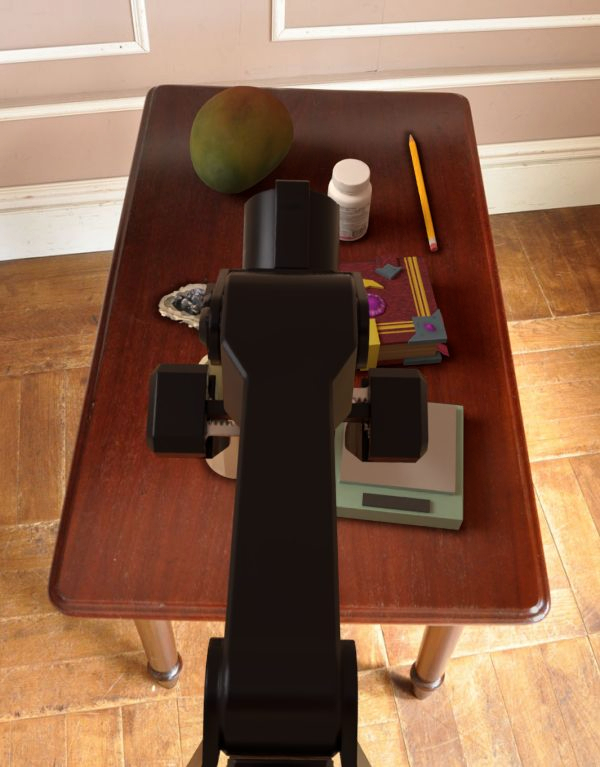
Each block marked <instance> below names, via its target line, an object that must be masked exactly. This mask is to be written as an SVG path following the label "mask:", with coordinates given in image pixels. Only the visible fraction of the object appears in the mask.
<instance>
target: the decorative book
mask: <svg viewBox="0 0 600 767" xmlns="http://www.w3.org/2000/svg"><path fill="white" fill-rule="evenodd" d="M339 271H348V272H361V275H362V279H363V282H364V286H365V289H366V293H367V296H368V300H369V311H370V335H369V353H368V362H367V367H366V369H359V371H360V372H365V371H366V372H367V371H368V370H369V368H377V367H378V366H389V365H400V364H401V365H402V364H403V366H416V365H429V364H441V363H442V359H443V357H442V354H443V355H444V356H448V357H450V354H449V351H448V347H447V345H445V344H446V343H447V341H448V336H447V332H446V328H445V325H444V324H445V323H444V322H445V321H444V318H443V314H442V312H441V310H440V308H439V309H438V306H437V302H436V298H435V295H434V294H435V293H434V290H433V286H432V283H431V278H430V274H429V271H428V268H427V263H426V259H425V256H424V255H420V256H419V255H418V256H406V257H404V256H403V257H397V255H396V253H393V254H392V253H391V254H380V255H375V259H365V260H364V259H363V260H351V261H339Z"/></svg>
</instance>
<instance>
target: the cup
mask: <svg viewBox="0 0 600 767" xmlns="http://www.w3.org/2000/svg"><path fill="white" fill-rule="evenodd" d="M198 364H209V366H210V375H216V379H217V386H218V393H219V400H224V399H223V381H222V366H212V365H211V363H210V360H208V354H206V355H204V356H203V357H202V358H201V360H200V361H199V363H198ZM230 421H232V424H233V425H234V424H235V422H234V421H233V420H229V422H230ZM238 448H239V437H231V442H230V445H229V447H228V448H226V449H225V450H223V451H222V452H221V453H219V454H218V455H217V456H215V457H214V458H213V459H205V461H206V463H207V465H208V467H209V468H210V469H211V470H212V471H214V472H215V473H216V474H218V475H220V476H222V477H225V478H228V479H232V480H236V474H237V461H238Z"/></svg>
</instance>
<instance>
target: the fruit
mask: <svg viewBox="0 0 600 767" xmlns="http://www.w3.org/2000/svg"><path fill="white" fill-rule="evenodd" d="M294 131H295V130H294V123H293V119H292V115H291V114H290V111H289V109H288V108H287V106H286V105H285V104H284V102H282V101H281V100H280V98H278V97H277V95H274V94H272V93H271V92H269V91H267V90H266V89H262V88H260V87H257V86H252V85H235V86H232V87H229V88H226V89H224V90H222V91H219V92H217V93H216V94H215V95H213V96H212V97H211V98H209V99H208V100H206V102H205V103H204V104H203V105H202V106H201V108H200V109H199V111H198V112H197V113H196V116H195V117H194V120H193V123H192V126H191V131H190V135H189V136H190V137H189V154H190V159H191V163H192V166H193V169H194V171H195V173H196V175H197V177H199V179H200V180H201V181H202V182H203V184H205V186H207V187H209V188H210V189H212V190H214V191H216V192H218V193H222V194H226V195H233V194H240V193H242V192H244V191H246V190H249V189H251V188H252V187H254V186H255V185H257V184H258V183H260V182H261V181H262V180H264V179H265V178H267V177H268V176H269V175H270V174H271V173H272V172H273V171H274V170H275V169H276V168H277V167H278V166H279V165H280V164H281V163H282V162H283V161H284V159H285V158H286V157H287V155H288V154H289V151H290V150H291V147H292V144H293V141H294Z"/></svg>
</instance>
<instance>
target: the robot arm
mask: <svg viewBox="0 0 600 767" xmlns="http://www.w3.org/2000/svg"><path fill="white" fill-rule="evenodd" d="M310 183H311V181H310V180H300V179H275V186H274V188H271V189H267V190H263V191H260V192H258V193H256V194H254V195H253V196H251V197H250V198H249V199H247V201H245V202H244V208H243V209H244V210H243V211H244V212H243V236H242V238H243V240H242V262H241V263H242V266H241V267H242V268H220V269H219V273H218V276H217V279H216V281H215V283H214V282H213V283H212V282H211V283H210V282H207V283H206V291H205V295H204V300H203V305H202V309H201V314H200V319H199V330H198V341H199V343H200V344H201V345H202V346H203V347H204V348H205V349H206V352H207V355H208V360H210V363H211V365H212V366H222V381H223V399H224V400H219V393H218V386H217V379H216V375H210V366H209V364H199V363H170V362H169V363H168V362H166V363H165V362H160V363H158V364H157V365H156V367H155V368H154V369H153V370H152V371H151V373H150V376H149V382H148V383H149V384H148V397H147V398H148V399H147V400H148V401H147V412H146V413H147V415H146V426H145V427H146V429H145V439H146V440H145V441H146V446H147V447H148V448H149V450H150V451H151V452H152V453H153V454H154V455H155V456H156V457H157V459H186V460H187V459H192V460H193V459H194V460H206V459H213V458H214V457H215V456H217V455H218V454H219V453H221V452H222V451H223V450H225V449H226V448H228V447H229V445H230V442H231V437H239V448H238V461H237V474H236V479H235V486H234V488H235V489H234V502H233V515H232V528H231V541H230V554H229V568H228V579H227V591H226V592H227V593H226V604H225V606H226V608H225V620H224V630H223V631H224V632H223V636H211V637H210V638H209V640H208V646H207V650H206V659H205V660H206V661H205V671H204V686H203V707H202V708H203V709H202V739H201V741H200V742H199V744H198V746H197V748H196V749H195V750H194V752H193V755H192V756H191V758H189V761H188V762H187V763H186V766H185V767H218V765H219V761H220V755H221V752H222V753H223V754H224V756H226V757H228V758H227V760H226V765H225V767H335V765H334V764H335V763H334V762H335V761H334V760H333V758H334V757H335V756H337V755H338V754H339V761H340V767H373V766H372V765H371V763H370V761H369V759H368V757H367V755H366V753H365V752H364V749H363V748H362V746H361V744H360V743H359V740H358V739H359V734H358V733H359V674H358V672H359V670H358V669H359V667H358V654H357V645H356V640H355V639H346V638H345V639H344V638H342V637H341V605H340V604H341V603H340V574H339V573H340V572H339V546H338V545H339V544H338V542H339V541H338V540H339V539H338V538H339V537H338V517H337V505H336V473H335V441H334V438H335V430H336V428H337V427H338V426H339V425H340V424H341V423H342V422H347V425H346V429H345V448H346V449H347V450H348V451H349V452H350V453H352V454H353V455H354V456H355V457H357V458H358V459H359V460H360V461H361V462H381V463H416V462H417V461H418V460H419V459H420V458H421V457H422V456H423V455H424V454H425V453H426V452H427V449H428V441H429V438H428V402H429V400H428V399H429V398H428V396H429V395H428V382H427V377H426V376H425V375H424V374H423V373H422V372H421V370H420V369H419V368H395V367H394V368H393V367H391V368H390V367H376V368H369V370H367V377H362V378H361V380H360V381H361V382H360V384H359V387H354V386H355V376H356V370H360V369H366V367H367V362H368V353H369V335H370V311H369V300H368V296H367V293H366V289H365V286H364V282H363V279H362V275H361V272H348V271H339V262H340V253H341V252H340V250H341V249H340V245H341V244H340V243H341V242H340V241H341V240H340V205H339V204H337V202H336V201H334V200H333V199H332V198H331V197H329V196H328V194H325V193H323V192H320V191H317V190H314V189H310V185H311V184H310ZM353 399H354V400H355V403H352V400H353ZM229 420H233V421H234V422H235V424H234V425H233V424H232V421H230V422H229Z"/></svg>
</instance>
